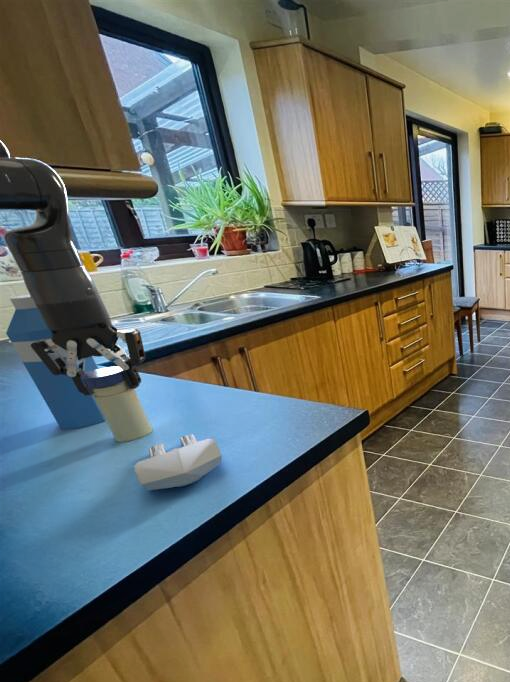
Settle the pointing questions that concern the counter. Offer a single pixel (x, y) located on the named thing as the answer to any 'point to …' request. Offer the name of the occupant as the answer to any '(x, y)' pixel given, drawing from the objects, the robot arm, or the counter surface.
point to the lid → (102, 377)
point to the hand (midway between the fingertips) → (113, 390)
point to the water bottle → (55, 389)
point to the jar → (122, 411)
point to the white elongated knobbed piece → (178, 463)
